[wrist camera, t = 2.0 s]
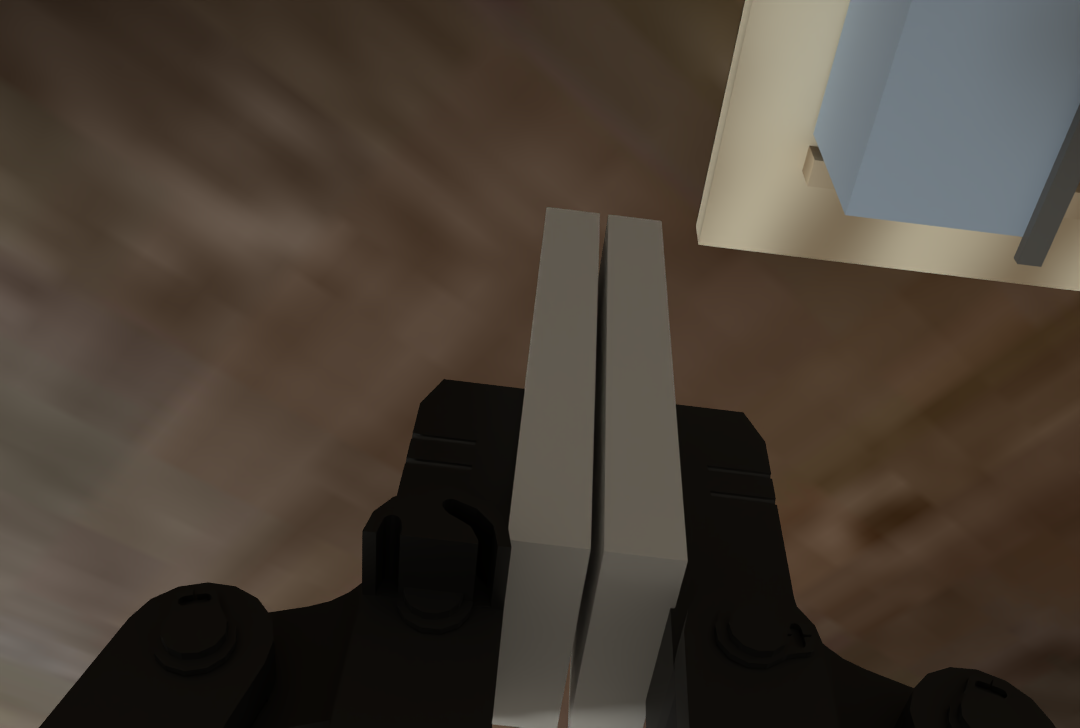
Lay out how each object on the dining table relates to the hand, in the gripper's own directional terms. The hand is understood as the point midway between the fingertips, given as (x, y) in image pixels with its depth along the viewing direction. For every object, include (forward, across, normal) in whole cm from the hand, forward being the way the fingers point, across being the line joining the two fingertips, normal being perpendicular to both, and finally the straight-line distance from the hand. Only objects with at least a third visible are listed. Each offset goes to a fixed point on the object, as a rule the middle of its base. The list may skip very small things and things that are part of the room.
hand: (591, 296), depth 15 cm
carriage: (+15, +9, 0) cm, 18 cm away
